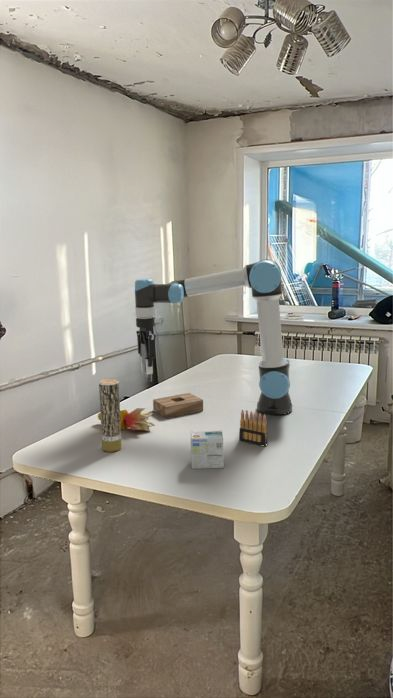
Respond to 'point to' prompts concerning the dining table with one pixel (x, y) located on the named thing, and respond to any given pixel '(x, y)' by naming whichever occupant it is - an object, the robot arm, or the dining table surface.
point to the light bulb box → (207, 449)
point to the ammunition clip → (253, 429)
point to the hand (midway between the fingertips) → (147, 372)
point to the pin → (145, 377)
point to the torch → (134, 420)
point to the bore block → (177, 405)
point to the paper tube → (110, 414)
